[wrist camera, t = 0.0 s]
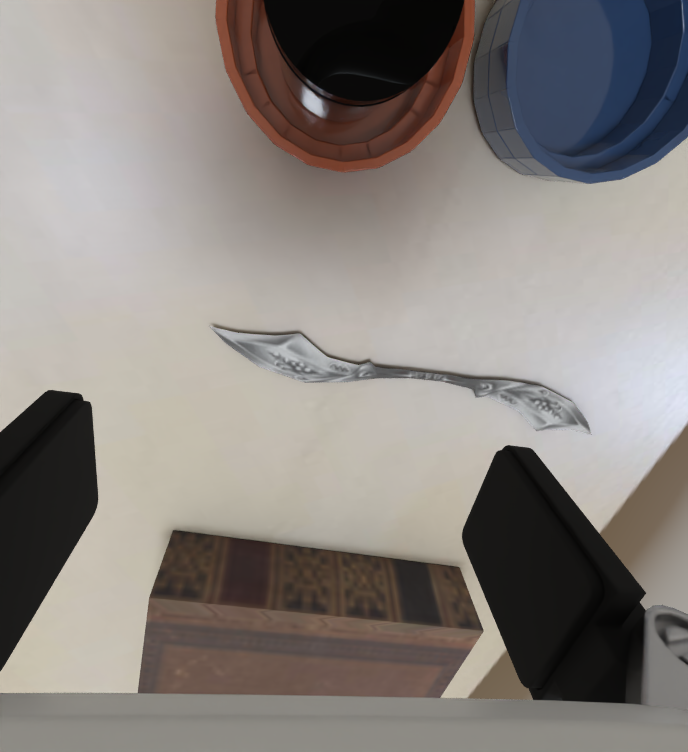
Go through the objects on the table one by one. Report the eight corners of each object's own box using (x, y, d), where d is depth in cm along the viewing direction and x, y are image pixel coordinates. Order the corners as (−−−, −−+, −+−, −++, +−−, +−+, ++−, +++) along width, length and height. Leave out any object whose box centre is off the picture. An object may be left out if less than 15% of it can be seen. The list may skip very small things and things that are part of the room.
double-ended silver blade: (587, 436, 37) (615, 387, 35) (591, 440, 36) (619, 390, 34) (204, 379, 31) (210, 316, 29) (203, 383, 31) (208, 319, 29)
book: (173, 530, 38) (149, 597, 32) (459, 567, 43) (483, 631, 37) (150, 686, 48) (129, 758, 42) (385, 700, 53) (394, 766, 47)
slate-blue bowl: (513, -96, 21) (568, -164, 17) (706, -30, 23) (802, -75, 19) (445, 157, 26) (474, 156, 22) (608, 195, 28) (666, 202, 23)
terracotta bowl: (244, -125, 20) (226, -207, 15) (470, -52, 22) (512, -108, 17) (225, 146, 25) (208, 143, 20) (411, 187, 27) (433, 192, 22)
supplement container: (317, 148, 25) (325, 140, 16) (251, 17, 22) (213, -89, 13) (422, 83, 24) (497, 33, 15) (367, -63, 21) (418, -243, 12)
